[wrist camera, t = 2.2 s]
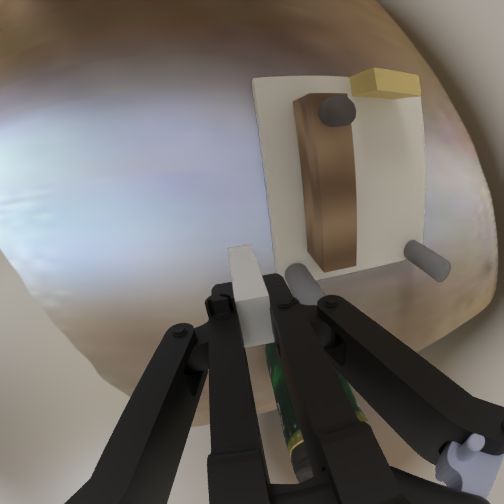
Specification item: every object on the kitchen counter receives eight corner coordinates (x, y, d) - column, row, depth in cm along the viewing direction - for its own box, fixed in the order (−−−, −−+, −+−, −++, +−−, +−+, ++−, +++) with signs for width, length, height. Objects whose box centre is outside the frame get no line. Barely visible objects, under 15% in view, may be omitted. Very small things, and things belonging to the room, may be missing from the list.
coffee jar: (257, 332, 31) (293, 480, 14) (321, 314, 31) (393, 444, 14) (271, 381, 35) (302, 501, 18) (325, 366, 35) (375, 476, 18)
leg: (292, 101, 21) (318, 89, 15) (324, 100, 21) (358, 90, 15) (307, 251, 26) (331, 282, 20) (335, 246, 26) (365, 274, 21)
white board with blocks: (251, 81, 21) (265, 57, 14) (410, 87, 22) (456, 81, 15) (276, 280, 29) (295, 322, 22) (413, 251, 30) (451, 277, 23)
